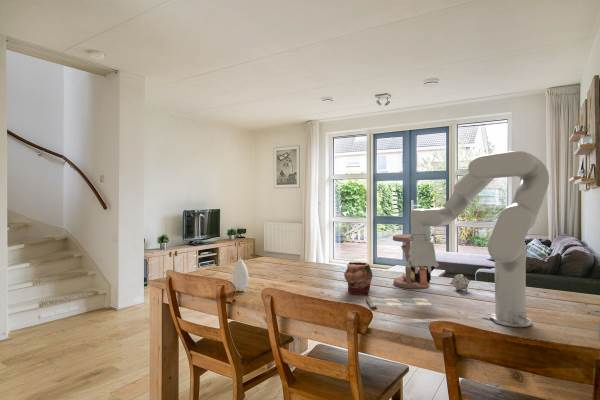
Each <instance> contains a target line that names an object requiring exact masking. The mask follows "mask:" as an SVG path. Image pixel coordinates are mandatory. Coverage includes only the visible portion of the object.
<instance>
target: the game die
mask: <svg viewBox="0 0 600 400" xmlns="http://www.w3.org/2000/svg"><path fill="white" fill-rule="evenodd" d="M471 281H472V279H469V278H468V277H466V274H463V272H462V273H461V274H455V273H453V278H452V280H451V282H449V285H452V286H453V287H454V288H455V289H456V290H458V291H457V292H458V293H459V292H460V291H462V290H466V291H468V289H467V288H468V287H469V283H470V282H471Z"/></svg>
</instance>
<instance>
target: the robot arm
mask: <svg viewBox="0 0 600 400" xmlns="http://www.w3.org/2000/svg"><path fill="white" fill-rule="evenodd" d="M467 166H468V167H467V170H468V171H466V173H464V174H463V175H462V177H461V178H459V179H458V181H456V183H455V184H454V186H453V193H452V194H451V196H450V198H448V200H447V201H446V202H445V203H444V204H443V205H442V206H441V207H433V208H413V209H411V211H410V231H411V236H408V239H411V240H412V241H411V242H410V246H409V259H408V261H406V263H405V267H408V268H410V269H411V270H412V271H413V272H414V277H415V281H416V282H417V283H420V278H419V273H418V269H419V266H426V268H425V269H427V282H428V283H429V284H430V283H431V280H432V272H433V271H434V270H435V269H436V268H438V267H439V266H440V264H439V263H438V261H437V258H436V251H435V244H434V242H433V241H432V240H431V227H434V228H438V227H442V226H448V225H449V224H452V223H453V221H454V220H456V219H457V218H458V217H459V216H460V215H461V214H462V213H463V212H464V211H465V210H466V209H467V207H469V205H470V204H471V203H472V201H473V200H474V199H475V198H476V197H477V196H478V195H479V193H481V192H482V191H483V190H484V189H485V188H486V187H487V186H488V185H489V184H490V183H491V182H492V181H493V180H494V179H501V178H512V177H513V178H515V177H517V178H519V183H518V186H517V188H516V191H515V193H514V196H513V197H512V201H511V203H510V205H508V206H506V207H504V208H503V209H502V211H501V212H500V214H499V215H498V216H497V220H496V223H495V225H494V228H493V231H492V232H491V235H490V238H489V241H488V245H487V251H488V254H489V256H490V257H491V258H492V259H493V260H494V312H493V313H491V314H490V320H491V321H492V322H494V323H496V324H498V325H502V326H506V327H514V328H527V327H529V326H531V325H532V320H531V318H529V317H527V295H526V292H527V290H526V289H527V288H526V285H527V284H526V278H527V277H526V274H527V272H526V271H527V270H526V269H527V268H526V265H527V263H526V262H527V252H528V251H527V244H526V242H525V239H526V237H527V235H528V232H529V231H530V230H531V228H533V227H534V226H535V224H536V221H537V218H538V215H539V213H540V210H541V207H542V205H543V202H544V200H545V196H546V193H547V191H548V187H549V185H550V184H549V183H550V174H549V171H548V168H547V167H546V165H545V164H544V162H542V160H541V159H539V158H538V157H537V156H536V155H534V154H531V153H529V152H527V151H524V150H523V151H522V150H513V151H504V152H499V153H498V152H497V153H489V154H481V155H480V154H479V155H478V156H475V157H473V158H472V159H471V160H470V161H469V163H468V165H467ZM410 264H411V265H413V266H414V268H413V267H412V266H410Z"/></svg>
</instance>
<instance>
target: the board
mask: <svg viewBox="0 0 600 400" xmlns="http://www.w3.org/2000/svg"><path fill="white" fill-rule="evenodd" d="M366 302H367V305H368V306H369V308H370V310H378V307H377V306H417V305H418V306H432V305H433V304H432V303H431V302H430V301H429V300H428V299H426V298H423V297H422V298H418V297H417V298H415V297H414V298H409V297H408V298H407V297H406V298H402V297H401V298H371V297H369V298H366Z"/></svg>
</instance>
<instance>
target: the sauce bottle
mask: <svg viewBox="0 0 600 400" xmlns="http://www.w3.org/2000/svg"><path fill="white" fill-rule="evenodd" d="M231 279H232V285H233V284H234V285H235V287H236V289H235V290H236V291H237V290H243V289H244V290H246V289H247V287H248V285H249V279H250V278H249V272H248V268H247V266H246V263H244V260H243V259H241V255H239V259H238V260H237V262H236V263H235V265H234V267H233V269H232V275H231ZM244 290H243V291H244Z"/></svg>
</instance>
